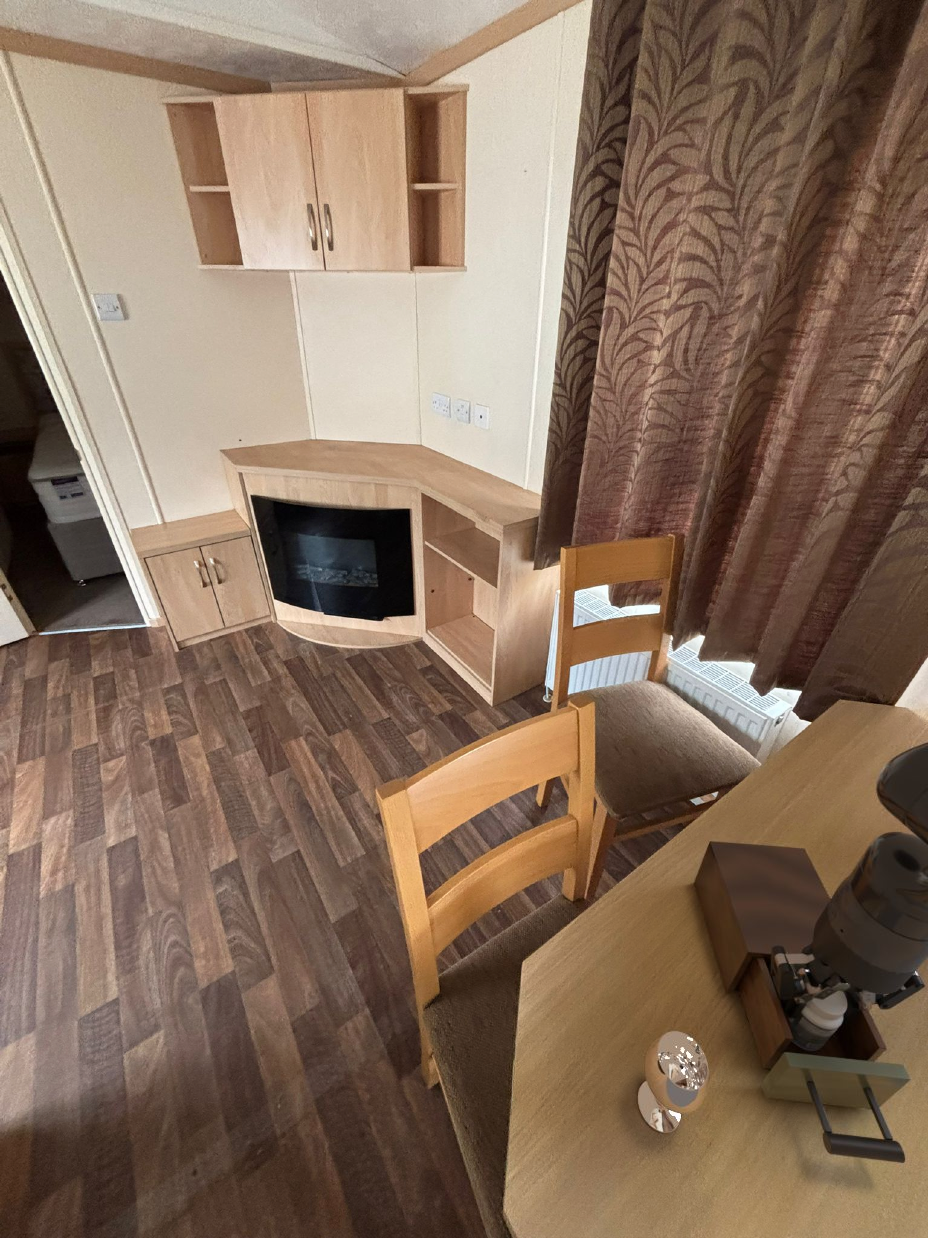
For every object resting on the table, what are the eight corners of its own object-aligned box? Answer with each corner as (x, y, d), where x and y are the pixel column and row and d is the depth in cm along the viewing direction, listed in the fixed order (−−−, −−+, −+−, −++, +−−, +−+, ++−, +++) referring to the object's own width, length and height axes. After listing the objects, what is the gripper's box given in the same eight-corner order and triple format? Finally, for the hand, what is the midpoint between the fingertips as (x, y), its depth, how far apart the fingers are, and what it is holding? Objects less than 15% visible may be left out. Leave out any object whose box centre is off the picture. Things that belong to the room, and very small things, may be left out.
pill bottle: (778, 995, 63) (801, 960, 59) (824, 1018, 61) (851, 984, 57) (775, 1036, 60) (799, 1001, 55) (823, 1062, 58) (852, 1029, 53)
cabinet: (831, 1004, 65) (863, 963, 59) (725, 994, 66) (748, 952, 61) (781, 890, 77) (804, 848, 72) (693, 883, 78) (709, 840, 73)
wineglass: (621, 1105, 57) (640, 1059, 51) (647, 1058, 60) (668, 1010, 54) (671, 1158, 53) (698, 1116, 47) (696, 1106, 57) (725, 1060, 50)
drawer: (908, 1182, 51) (949, 1156, 47) (786, 1167, 52) (814, 1139, 48) (816, 971, 67) (840, 937, 63) (724, 962, 68) (741, 928, 64)
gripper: (814, 963, 47) (759, 1044, 56) (987, 979, 45) (902, 1060, 54) (779, 883, 53) (734, 967, 62) (930, 895, 52) (863, 980, 61)
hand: (813, 1010), depth 58 cm, fingers closed on pill bottle, 4 cm apart
